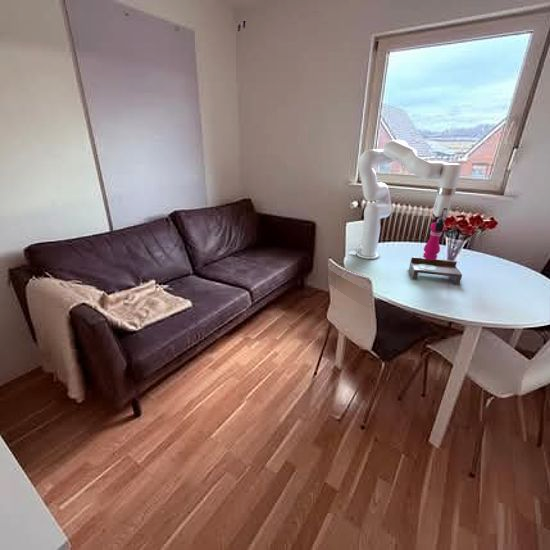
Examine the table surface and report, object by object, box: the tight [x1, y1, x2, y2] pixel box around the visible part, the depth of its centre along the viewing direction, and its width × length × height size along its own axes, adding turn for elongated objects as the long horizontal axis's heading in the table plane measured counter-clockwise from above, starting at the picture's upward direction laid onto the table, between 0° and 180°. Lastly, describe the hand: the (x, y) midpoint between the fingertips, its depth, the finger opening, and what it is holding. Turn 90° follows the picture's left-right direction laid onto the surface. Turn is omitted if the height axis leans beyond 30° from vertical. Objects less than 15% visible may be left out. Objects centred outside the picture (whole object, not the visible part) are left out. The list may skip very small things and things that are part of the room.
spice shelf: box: [408, 256, 463, 285], centre depth 160 cm, size 22×12×8 cm, turn 77°
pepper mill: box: [422, 220, 445, 260], centre depth 153 cm, size 7×7×20 cm
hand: (436, 229), depth 151 cm, fingers closed on pepper mill, 6 cm apart
